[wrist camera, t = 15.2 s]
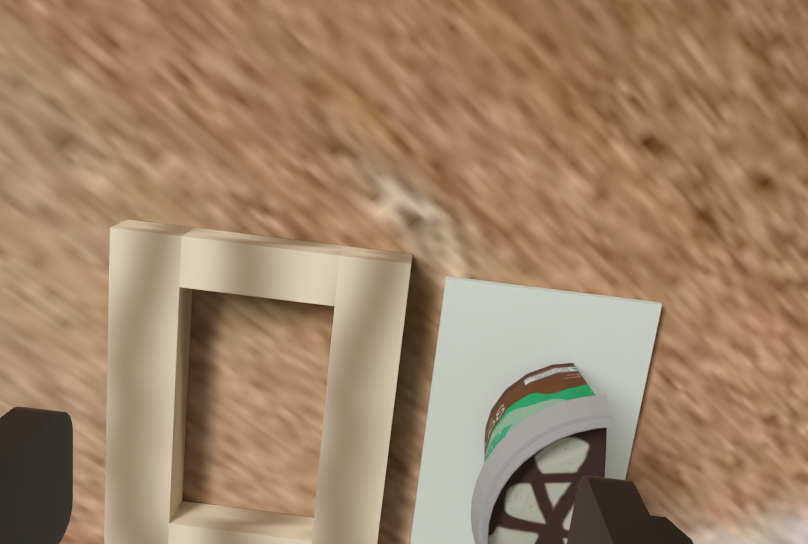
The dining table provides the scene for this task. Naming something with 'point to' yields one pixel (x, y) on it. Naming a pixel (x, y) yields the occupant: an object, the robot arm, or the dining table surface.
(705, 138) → the dining table surface
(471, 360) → the mat
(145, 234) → the frame
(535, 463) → the patterned half cylinder
